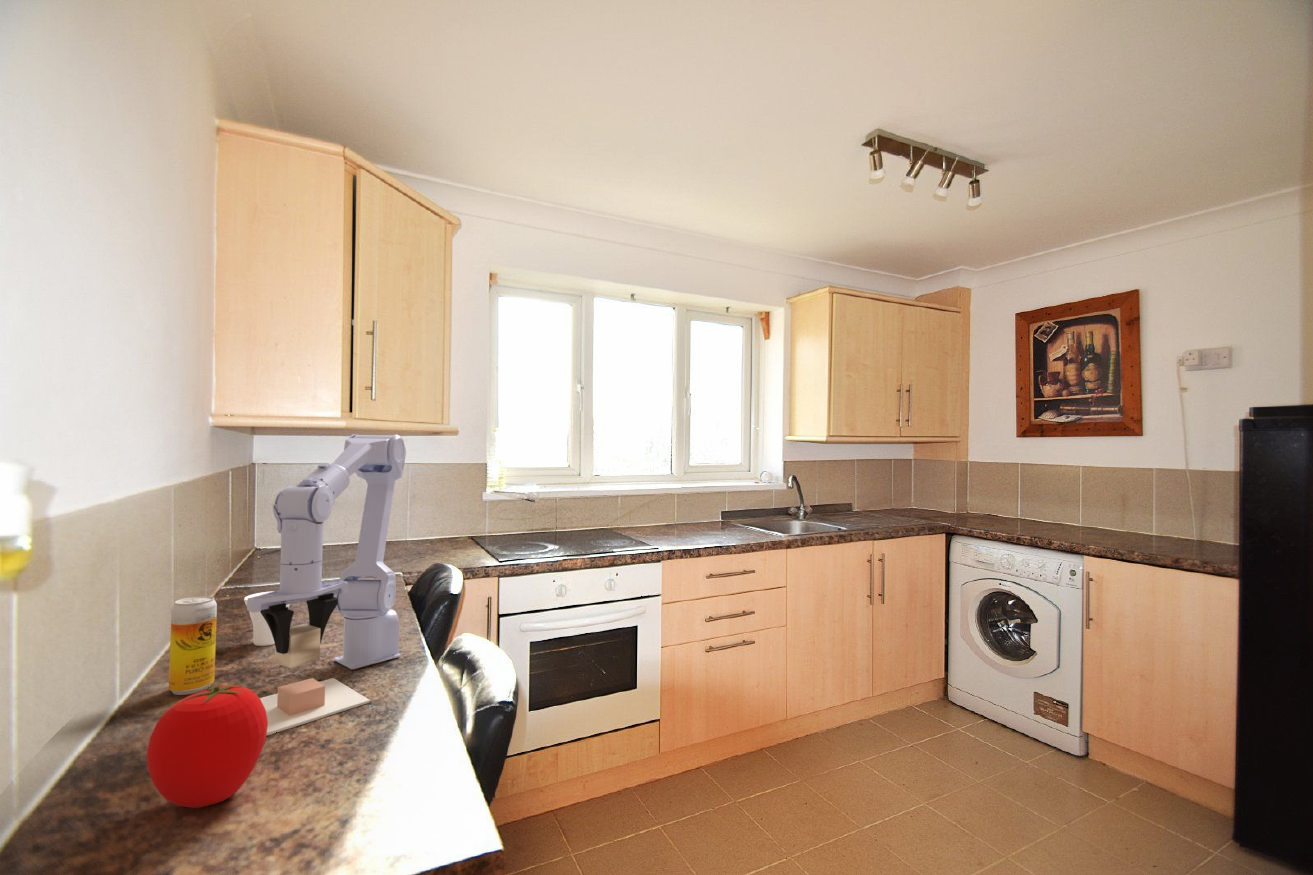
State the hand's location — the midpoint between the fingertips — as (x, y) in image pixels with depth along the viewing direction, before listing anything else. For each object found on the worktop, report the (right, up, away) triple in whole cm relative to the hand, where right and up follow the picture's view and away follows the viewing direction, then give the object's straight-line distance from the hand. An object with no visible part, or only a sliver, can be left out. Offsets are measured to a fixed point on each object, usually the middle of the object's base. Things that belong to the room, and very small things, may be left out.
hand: (299, 647), depth 92 cm
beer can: (-22, -10, +6) cm, 25 cm away
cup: (-25, -10, +31) cm, 41 cm away
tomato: (+4, -9, -24) cm, 26 cm away
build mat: (0, -9, 0) cm, 9 cm away
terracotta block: (+1, -9, 0) cm, 9 cm away
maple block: (0, -2, 0) cm, 2 cm away
